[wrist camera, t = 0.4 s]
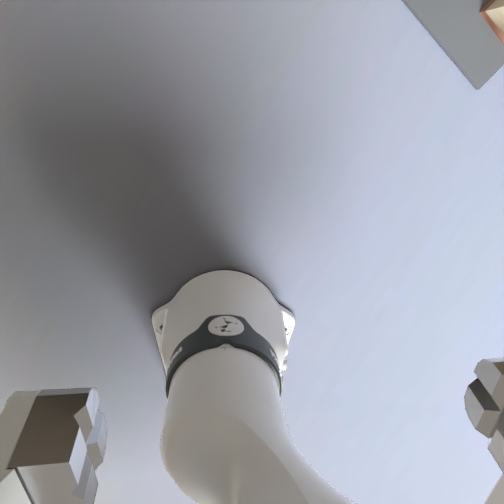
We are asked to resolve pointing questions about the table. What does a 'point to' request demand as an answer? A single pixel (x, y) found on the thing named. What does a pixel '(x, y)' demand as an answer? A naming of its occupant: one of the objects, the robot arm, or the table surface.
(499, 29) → the birch block
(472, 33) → the rubber mat
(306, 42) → the table surface
